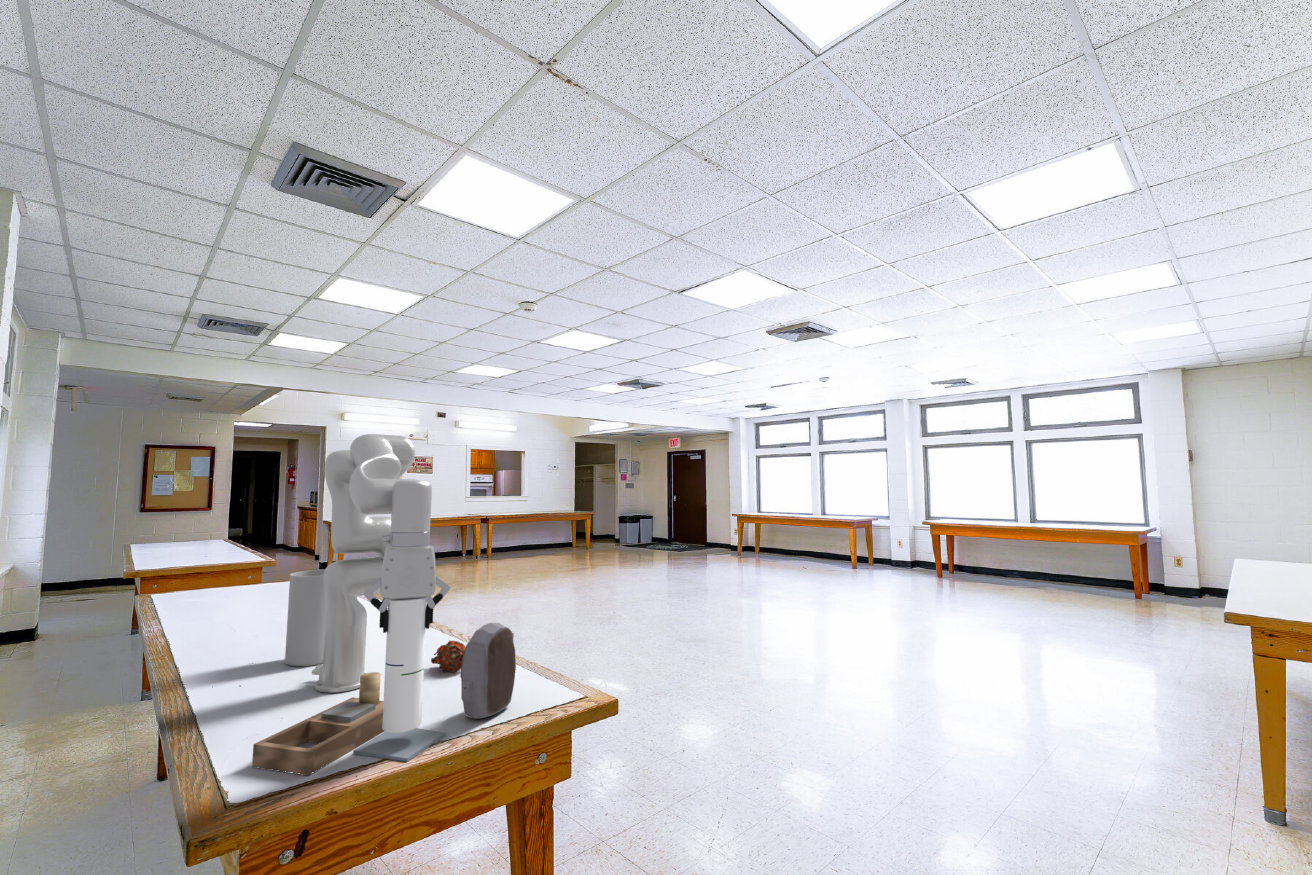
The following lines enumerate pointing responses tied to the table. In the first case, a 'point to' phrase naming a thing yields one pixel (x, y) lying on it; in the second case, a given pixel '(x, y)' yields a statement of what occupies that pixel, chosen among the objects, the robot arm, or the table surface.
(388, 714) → the cylindrical container
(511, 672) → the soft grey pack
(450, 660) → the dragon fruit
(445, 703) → the table surface
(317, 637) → the cylinder vase
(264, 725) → the table surface
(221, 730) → the table surface
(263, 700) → the table surface
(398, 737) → the mat
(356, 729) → the wooden divided tray
